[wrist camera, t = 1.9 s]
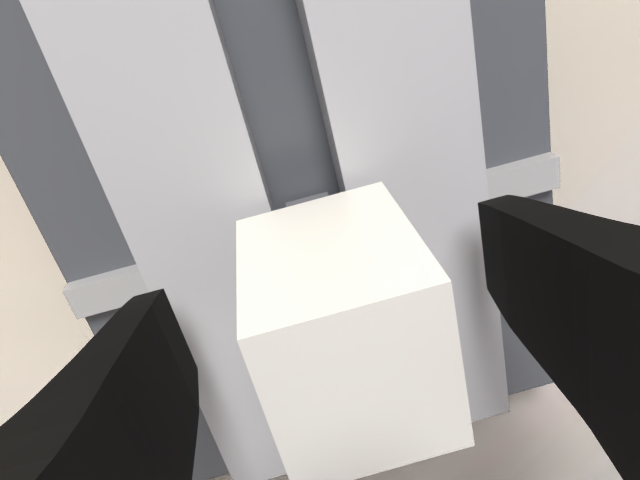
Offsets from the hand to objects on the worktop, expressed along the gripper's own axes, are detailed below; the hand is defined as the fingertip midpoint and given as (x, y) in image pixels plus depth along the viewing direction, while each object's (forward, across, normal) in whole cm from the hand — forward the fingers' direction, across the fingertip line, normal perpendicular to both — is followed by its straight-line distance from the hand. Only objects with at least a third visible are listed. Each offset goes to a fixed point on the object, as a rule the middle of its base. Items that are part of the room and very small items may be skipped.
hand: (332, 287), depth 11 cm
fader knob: (+2, 0, 0) cm, 2 cm away
